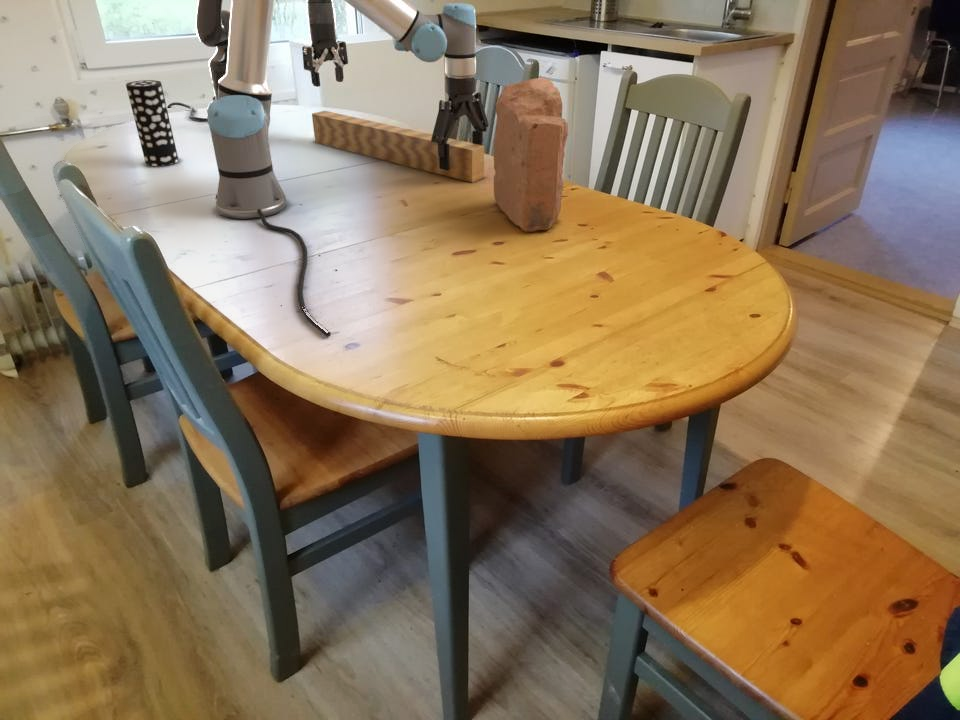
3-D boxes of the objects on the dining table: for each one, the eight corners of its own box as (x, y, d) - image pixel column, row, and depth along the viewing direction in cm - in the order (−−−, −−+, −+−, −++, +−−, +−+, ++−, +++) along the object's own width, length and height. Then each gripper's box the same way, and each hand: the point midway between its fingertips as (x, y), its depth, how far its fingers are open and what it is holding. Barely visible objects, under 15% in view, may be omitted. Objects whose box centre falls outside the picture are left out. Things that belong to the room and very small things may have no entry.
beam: (484, 177, 178) (484, 145, 174) (472, 182, 175) (472, 150, 171) (327, 138, 208) (324, 110, 204) (315, 142, 205) (311, 113, 200)
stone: (573, 229, 148) (583, 90, 134) (525, 235, 145) (529, 94, 131) (535, 200, 166) (540, 75, 151) (491, 204, 163) (492, 77, 148)
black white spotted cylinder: (184, 157, 190) (167, 80, 179) (169, 166, 183) (151, 87, 172) (155, 156, 190) (136, 79, 179) (139, 165, 183) (119, 86, 172)
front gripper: (479, 66, 177) (479, 149, 188) (414, 81, 160) (418, 172, 171) (502, 69, 173) (501, 154, 184) (438, 85, 156) (441, 177, 168)
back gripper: (332, 17, 193) (337, 78, 201) (291, 21, 183) (299, 86, 192) (350, 19, 189) (356, 81, 198) (310, 24, 179) (318, 89, 188)
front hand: (461, 163), depth 178 cm, fingers open, 13 cm apart
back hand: (328, 83), depth 195 cm, fingers open, 8 cm apart
